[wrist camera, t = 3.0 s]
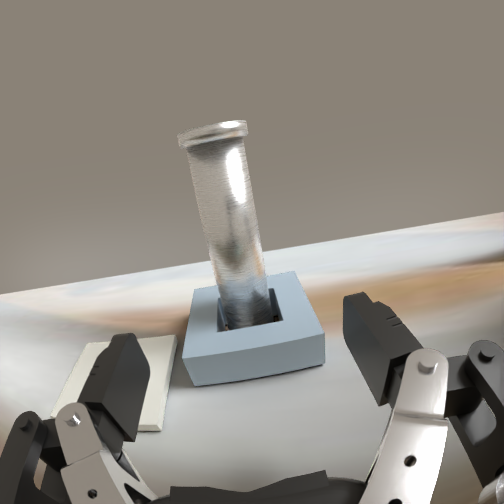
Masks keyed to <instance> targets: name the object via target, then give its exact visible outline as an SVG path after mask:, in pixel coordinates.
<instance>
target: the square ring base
mask: <svg viewBox="0 0 504 504" xmlns="http://www.w3.org/2000/svg"><path fill="white" fill-rule="evenodd" d="M266 278H267V284H268V290H269V296H270V302H271V308H272V315H273V316H275V315H278V318H279V321H278V322H273V323H268V324H263V325H258V326H252V327H247V328H241V329H235V330H229V331H225V324H227V321H226V318H225V314H224V310H223V306H222V303H221V299H220V295H219V291H218V287H217V285H216V286H211V287H205V288H199V289H194V294H193V299H192V304H191V309H190V315H189V320H188V326H187V331H186V337H185V343H184V349H183V355H182V360H183V362H184V364H185V367H186V369H187V371H188V373H189V375H190V378H191V380H192V382H193V384H194V386H200V385H209V384H218V383H225V382H232V381H239V380H246V379H252V378H258V377H263V376H269V375H274V374H279V373H284V372H289V371H294V370H298V369H303V368H307V367H312V366H316V365H320V364H324V363H325V334H324V331H323V329H322V327H321V325H320V323H319V321H318V319H317V316H316V314H315V312H314V310H313V308H312V306H311V304H310V302H309V300H308V298H307V296H306V294H305V292H304V290H303V288H302V286H301V284H300V282H299V280H298V278H297V276H296V273H295V271H291V272H286V273H281V274H275V275H270V276H266Z"/></svg>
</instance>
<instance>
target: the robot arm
mask: <svg viewBox="0 0 504 504" xmlns="http://www.w3.org/2000/svg"><path fill="white" fill-rule="evenodd" d="M343 335H344V339H345V342H346V344H347V346H348V348H349V350H350V352H351V354H352V356H353V358H354V360H355V361H356V363H357V365H358V367H359V369H360V371H361V373H362V375H363V377H364V379H365V380H366V382H367V384H368V386H369V388H370V390H371V392H372V394H373V396H374V398H375V400H376V402H377V404H378V406H382V405H384V404H387V403H389V404H390V406H391V408H392V410H391V413H390V416H389V420H388V423H387V426H386V429H385V432H384V435H383V437H382V440H381V443H380V446H379V448H378V451H377V454H376V456H375V459H374V461H373V463H372V466H371V468H370V470H369V472H368V475H367V477H366V479H365V481H364V482H362V481H358V480H354V479H349V478H338V477H329V478H327V475H326V471H325V470H323V471H319V472H315V473H311V474H306V475H301V476H297V477H292V478H286V479H284V480H281V481H279V482H276V483H273V484H271V485H268V486H265V487H262V488H260V489H257V490H254V491H251V492H236V491H228V490H222V489H216V488H211V487H175V486H171V488H170V495H166V496H163V497H160V498H158V497H157V496H156V495H155V494H154V493H153V492H152V491H151V490H150V489H149V488H148V486H147V485H146V484H145V482H144V481H143V479H142V478H141V476H140V475H139V473H138V471H137V470H136V468H135V467H134V465H133V463H132V462H131V460H130V458H129V457H128V455H127V453H126V451H125V450H124V449H123V448H122V445H123V441H126V442H135V439H136V434H137V430H138V425H139V421H140V416H141V412H142V408H143V403H144V399H145V395H146V391H147V387H148V383H149V379H150V366H149V363H148V360H147V358H146V356H145V354H144V352H143V350H142V348H141V346H140V344H139V342H138V340H137V338H136V336H135V335H134V334H133V333H127V334H117V335H114V336H113V338H112V340H111V342H110V344H109V346H108V348H105V349H104V350H103V351H102V352H101V353H100V354H99V355H98V356H97V358H96V360H95V362H94V365H93V368H92V369H91V371H90V373H89V374H90V375H89V376H88V377H87V380H86V382H85V384H84V386H83V388H82V391H81V393H80V395H79V398H78V400H77V402H74V403H70V404H67V405H66V406H64V407H63V408H62V409H61V410H60V411H59V412H58V414H57V416H56V418H54V419H48V420H43V421H42V420H41V418H40V417H39V416H38V415H37V414H36V413H35V412H32V411H27V412H24V413H22V414H21V415H20V416H19V417H18V418H17V419H16V420H15V422H14V425H13V427H12V429H11V432H10V434H9V436H8V439H7V441H6V444H5V447H4V449H3V452H2V455H1V457H0V504H429V502H430V499H431V496H432V493H433V489H434V486H435V482H436V479H437V475H438V471H439V467H440V463H441V459H442V454H443V449H444V444H445V439H446V433H447V426H448V422H447V419H444V418H446V417H448V418H449V420H450V422H451V423H452V425H453V427H454V429H455V431H456V433H457V435H458V437H459V439H460V441H461V442H462V444H463V446H464V448H465V450H466V452H467V454H468V457H469V459H470V461H471V463H472V465H473V467H474V469H475V471H476V474H477V476H478V478H479V480H480V482H481V485H482V487H483V490H482V492H481V494H480V496H479V500H478V504H504V351H503V350H502V349H501V348H500V347H499V346H498V345H497V344H495V343H494V342H491V341H488V340H480V341H477V342H475V343H473V344H472V345H471V347H470V349H469V351H468V354H467V355H463V356H456V357H450V358H446V357H445V356H444V355H443V354H442V353H441V352H439V351H437V350H434V349H430V348H423V347H422V345H421V344H420V343H419V342H418V340H417V339H416V338H415V337H414V336H413V334H412V333H411V332H410V331H409V329H408V328H407V327H406V326H405V325H404V324H403V323H402V321H401V320H400V319H399V318H398V317H397V315H396V314H395V313H394V312H393V311H392V309H391V308H390V307H388V306H386V305H385V304H383V303H381V302H379V301H378V302H374V303H373V302H372V301H371V300H370V298H369V297H368V296H367V295H366V293H364V292H361V293H357V294H353V295H348V296H345V297H344V299H343ZM483 399H485V401H486V402H487V404H488V405H489V407H490V408H491V410H492V411H493V413H494V415H495V417H496V419H495V417H494V415H493V414H492V412H491V411H490V409H489V407H488V406H487V404H486V403H485V401H484V400H483ZM39 458H40V459H41V460H42V461H44V462H45V463H46V464H47V466H46V470H45V474H44V477H43V481H42V485H41V490H39V489H37V488H36V486H35V484H34V480H33V478H34V474H35V470H36V467H37V463H38V460H39Z"/></svg>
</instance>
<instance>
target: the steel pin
mask: <svg viewBox="0 0 504 504" xmlns="http://www.w3.org/2000/svg"><path fill="white" fill-rule="evenodd" d="M246 135H248V130H247V125H246V121H245V120H238V121H229V122H223V123H216V124H211V125H207V126H202V127H197V128H193V129H190V130H186V131H183V132H180V133H178V134H177V136H178V141H179V146H180V149H182V148H186V151H187V155H188V161H189V165H190V170H191V175H192V180H193V185H194V189H195V194H196V198H197V203H198V207H199V212H200V217H201V221H202V225H203V230H204V234H205V238H206V243H207V247H208V251H209V255H210V259H211V263H212V267H213V271H214V275H215V279H216V283H217V287H218V291H219V295H220V299H221V303H222V306H223V310H224V314H225V318H226V321H227V325H228V329H229V330H235V329H241V328H247V327H252V326H258V325H263V324H268V323H273V322H274V321H273V315H272V308H271V302H270V296H269V290H268V284H267V278H266V271H265V265H264V259H263V253H262V247H261V242H260V236H259V229H258V223H257V218H256V212H255V206H254V200H253V194H252V188H251V183H250V177H249V171H248V165H247V160H246V154H245V149H244V142H243V138H242V136H246Z"/></svg>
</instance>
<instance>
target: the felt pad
mask: <svg viewBox="0 0 504 504" xmlns="http://www.w3.org/2000/svg"><path fill="white" fill-rule="evenodd" d="M137 340H138V342H139V344H140V346H141V348H142V350H143V352H144V354H145V356H146V358H147V360H148V363H149V366H150V379H149V383H148V387H147V391H146V395H145V399H144V403H143V408H142V412H141V416H140V421H139V425H138V431H162V425H163V419H164V413H165V406H166V400H167V395H168V389H169V383H170V378H171V372H172V367H173V362H174V357H175V352H176V347H177V342H178V341H177V338H176V336H175V335H167V336H159V337H150V338H141V339H137ZM110 342H111V341H109V342H96V343H87V345H86V346H85V348H84V350H83V352H82V354H81V355H80V357H79V359H78V361H77V363H76V365H75V367H74V368H73V370H72V372H71V374H70V376H69V378H68V380H67V382H66V384H65V386H64V388H63V390H62V392H61V394H60V396H59V398H58V401H57V403H56V405H55V407H54V409H53V411H52V414H51V417H52V419H54V418H56V416H57V414H58V412H59V411H60V410H61V409H62V408H63V407H64V406H66V405H67V404H70V403H74V402H77V400H78V398H79V395H80V393H81V391H82V388H83V386H84V384H85V382H86V380H87V377H88V376H89V375H90V374H89V373H90V371H91V369H92V368H93V365H94V362H95V360H96V358H97V356H98V355H99V354H100V353H101V352H102V351H103V350H104V349H105V348H108V346H109V344H110Z"/></svg>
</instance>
